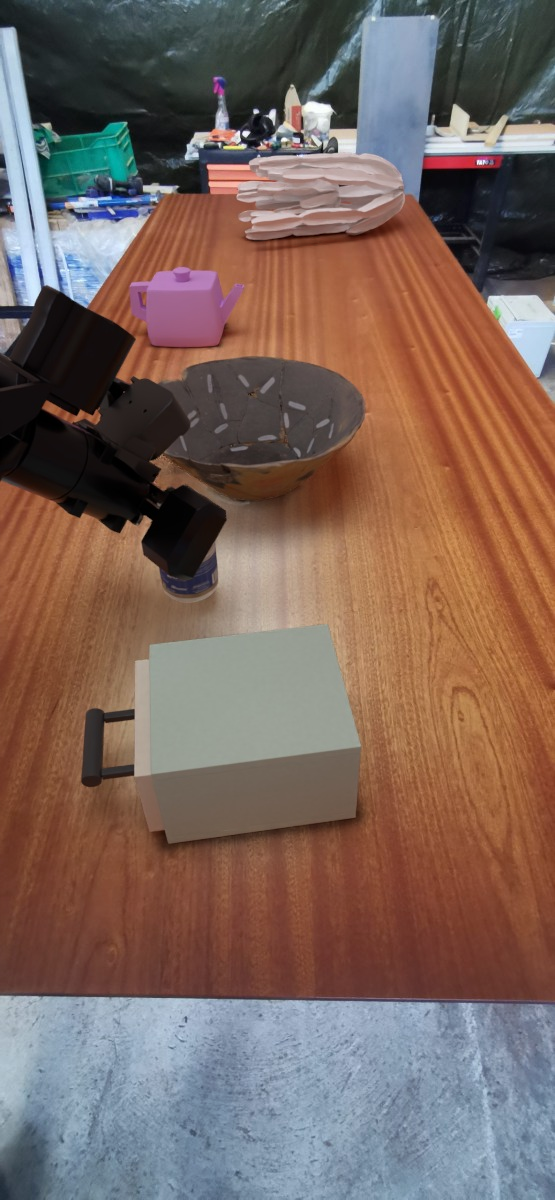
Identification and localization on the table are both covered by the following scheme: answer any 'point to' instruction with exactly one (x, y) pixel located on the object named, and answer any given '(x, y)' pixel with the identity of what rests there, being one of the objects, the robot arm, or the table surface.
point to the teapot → (183, 307)
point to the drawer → (142, 747)
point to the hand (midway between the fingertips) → (196, 523)
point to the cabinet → (251, 733)
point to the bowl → (261, 423)
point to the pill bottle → (193, 580)
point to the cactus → (320, 194)
